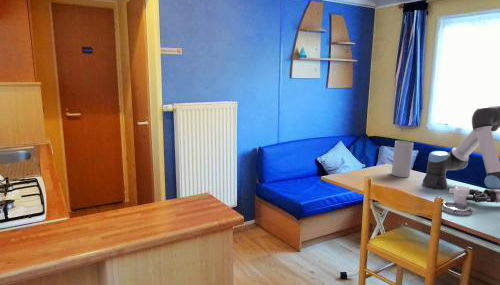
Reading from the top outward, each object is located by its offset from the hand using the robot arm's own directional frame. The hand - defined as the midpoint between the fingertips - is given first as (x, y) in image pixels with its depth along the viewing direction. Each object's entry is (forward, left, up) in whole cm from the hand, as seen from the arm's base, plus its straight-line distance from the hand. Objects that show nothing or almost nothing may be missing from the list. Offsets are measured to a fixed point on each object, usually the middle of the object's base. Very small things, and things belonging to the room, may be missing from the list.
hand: (454, 194), depth 210 cm
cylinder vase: (-50, +28, -6) cm, 58 cm away
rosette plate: (+6, -10, -6) cm, 13 cm away
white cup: (+3, +3, -6) cm, 7 cm away
